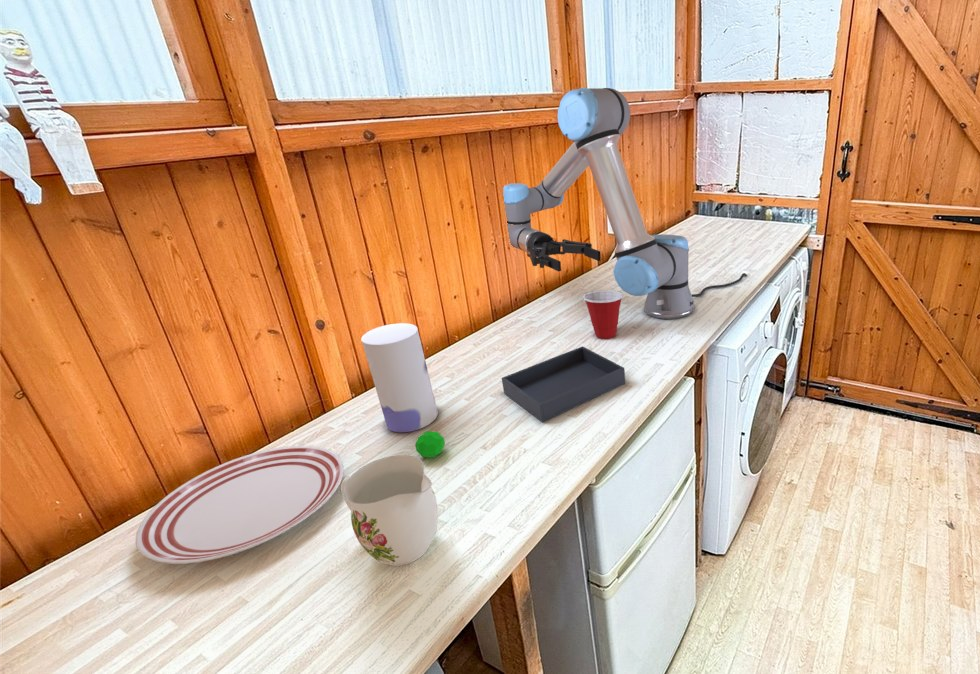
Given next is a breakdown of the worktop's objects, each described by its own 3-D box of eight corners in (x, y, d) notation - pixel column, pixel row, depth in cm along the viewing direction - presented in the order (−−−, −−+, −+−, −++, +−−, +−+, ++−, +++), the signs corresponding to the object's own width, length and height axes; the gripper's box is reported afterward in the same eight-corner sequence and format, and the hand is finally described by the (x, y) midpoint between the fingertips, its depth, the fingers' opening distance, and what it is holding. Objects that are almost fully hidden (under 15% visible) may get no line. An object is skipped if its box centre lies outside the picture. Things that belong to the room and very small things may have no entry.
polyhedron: (430, 466, 94) (425, 444, 92) (412, 458, 97) (407, 437, 95) (452, 450, 98) (447, 430, 96) (434, 443, 101) (429, 423, 99)
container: (448, 410, 111) (428, 325, 103) (415, 436, 103) (390, 346, 95) (410, 403, 115) (388, 320, 106) (375, 428, 106) (348, 340, 98)
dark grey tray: (584, 360, 130) (582, 346, 129) (625, 383, 119) (624, 367, 118) (504, 393, 117) (501, 377, 115) (542, 422, 106) (539, 405, 104)
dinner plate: (294, 441, 103) (289, 427, 101) (381, 485, 90) (376, 470, 89) (115, 535, 82) (104, 519, 80) (194, 610, 69) (184, 593, 67)
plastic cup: (628, 326, 149) (625, 287, 144) (622, 343, 139) (619, 301, 134) (590, 326, 150) (587, 287, 145) (582, 342, 140) (578, 301, 135)
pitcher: (386, 506, 85) (364, 437, 80) (474, 535, 79) (457, 463, 73) (327, 556, 76) (296, 483, 70) (420, 594, 70) (396, 517, 64)
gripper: (571, 247, 165) (614, 264, 152) (501, 264, 150) (542, 284, 136) (570, 224, 162) (614, 239, 149) (498, 238, 146) (540, 257, 133)
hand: (580, 261), depth 142 cm, fingers open, 13 cm apart
